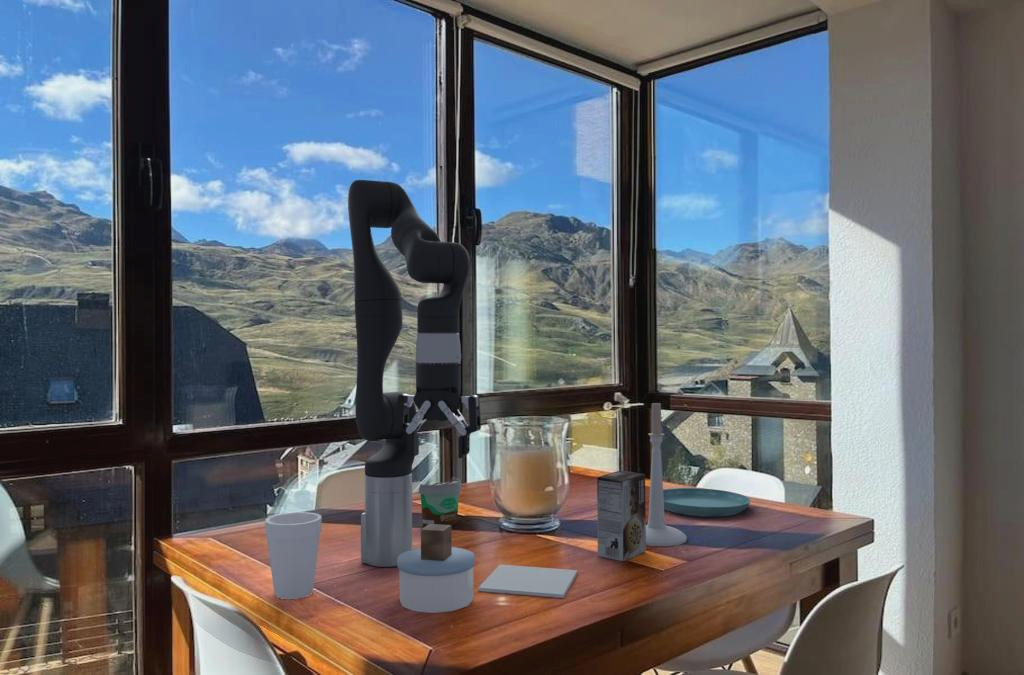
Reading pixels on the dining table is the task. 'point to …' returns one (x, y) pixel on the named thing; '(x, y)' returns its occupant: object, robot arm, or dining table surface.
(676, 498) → the saucer
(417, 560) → the lid
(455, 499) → the food container
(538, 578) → the mat
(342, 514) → the dining table surface
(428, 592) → the bowl
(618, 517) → the coffee box
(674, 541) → the candlestick
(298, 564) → the foam cup
